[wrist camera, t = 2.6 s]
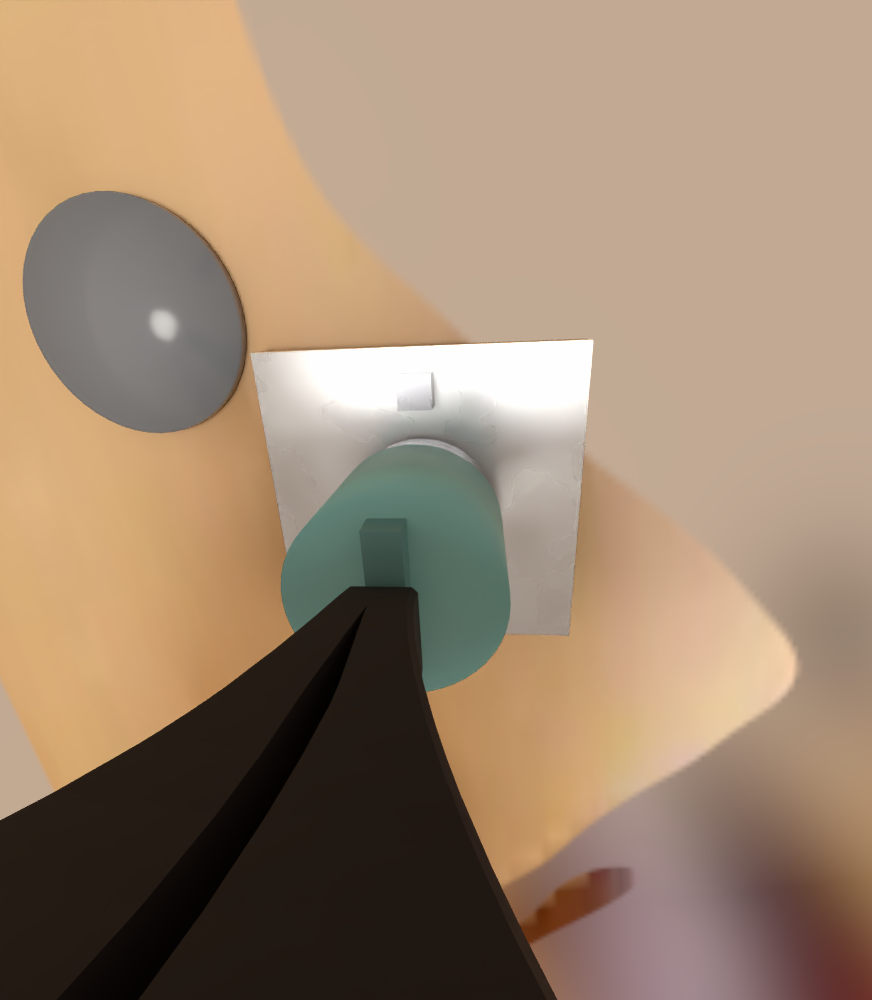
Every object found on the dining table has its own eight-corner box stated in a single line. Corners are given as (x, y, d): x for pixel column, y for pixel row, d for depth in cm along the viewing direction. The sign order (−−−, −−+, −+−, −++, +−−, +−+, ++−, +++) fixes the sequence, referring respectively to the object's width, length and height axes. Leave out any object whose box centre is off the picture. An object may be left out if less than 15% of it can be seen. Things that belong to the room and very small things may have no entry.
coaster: (263, 428, 15) (258, 431, 15) (77, 432, 16) (67, 434, 16) (220, 185, 13) (212, 182, 12) (0, 203, 14) (-13, 199, 13)
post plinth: (564, 618, 17) (577, 665, 15) (309, 612, 18) (283, 655, 16) (585, 338, 13) (607, 342, 11) (265, 351, 14) (223, 356, 12)
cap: (501, 598, 14) (510, 718, 10) (345, 595, 15) (289, 709, 10) (503, 442, 12) (515, 506, 8) (325, 445, 13) (247, 506, 8)
